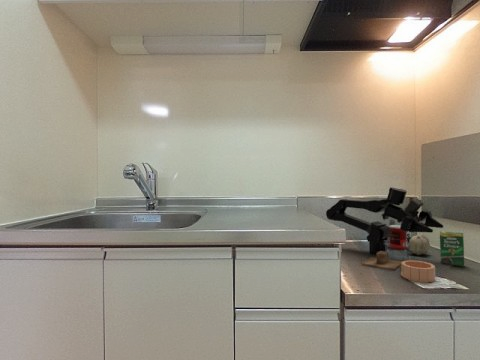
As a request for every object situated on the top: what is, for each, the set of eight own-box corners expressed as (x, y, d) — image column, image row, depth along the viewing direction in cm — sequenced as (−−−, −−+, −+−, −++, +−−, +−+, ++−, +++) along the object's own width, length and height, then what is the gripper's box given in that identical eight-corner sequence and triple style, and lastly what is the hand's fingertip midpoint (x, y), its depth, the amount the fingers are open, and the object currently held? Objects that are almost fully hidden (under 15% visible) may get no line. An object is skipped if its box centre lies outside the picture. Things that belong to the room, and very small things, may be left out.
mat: (358, 266, 120) (358, 265, 120) (370, 259, 130) (370, 257, 130) (396, 273, 111) (396, 272, 110) (406, 265, 121) (406, 263, 121)
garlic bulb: (427, 253, 139) (427, 231, 139) (435, 257, 131) (434, 235, 131) (405, 252, 141) (405, 231, 141) (411, 256, 133) (410, 234, 133)
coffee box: (439, 263, 122) (439, 231, 122) (440, 262, 124) (440, 230, 124) (464, 267, 117) (463, 234, 117) (464, 265, 119) (464, 232, 119)
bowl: (398, 279, 105) (398, 265, 105) (405, 272, 112) (405, 258, 112) (432, 285, 98) (431, 270, 98) (437, 277, 106) (436, 263, 106)
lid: (362, 265, 120) (361, 253, 120) (371, 258, 129) (371, 247, 129) (394, 271, 112) (394, 258, 112) (402, 263, 121) (402, 251, 121)
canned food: (404, 246, 152) (404, 225, 152) (408, 250, 144) (407, 227, 144) (388, 245, 154) (388, 224, 154) (390, 249, 147) (390, 227, 147)
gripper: (392, 199, 122) (433, 214, 110) (414, 193, 132) (454, 206, 120) (386, 224, 125) (424, 241, 113) (408, 216, 136) (446, 231, 123)
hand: (438, 228), depth 117 cm, fingers open, 9 cm apart
